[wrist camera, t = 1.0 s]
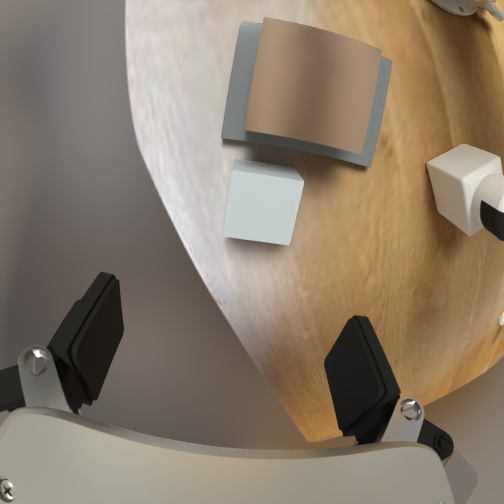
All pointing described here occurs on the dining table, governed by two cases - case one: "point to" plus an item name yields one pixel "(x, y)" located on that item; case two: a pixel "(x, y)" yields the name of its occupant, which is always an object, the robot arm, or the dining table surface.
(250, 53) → the slate board
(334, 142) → the walnut block
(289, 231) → the blue-grey block
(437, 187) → the medicine bottle
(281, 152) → the dining table surface
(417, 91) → the dining table surface
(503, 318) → the chess piece
